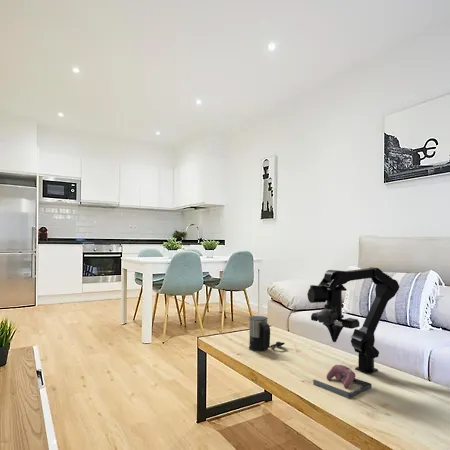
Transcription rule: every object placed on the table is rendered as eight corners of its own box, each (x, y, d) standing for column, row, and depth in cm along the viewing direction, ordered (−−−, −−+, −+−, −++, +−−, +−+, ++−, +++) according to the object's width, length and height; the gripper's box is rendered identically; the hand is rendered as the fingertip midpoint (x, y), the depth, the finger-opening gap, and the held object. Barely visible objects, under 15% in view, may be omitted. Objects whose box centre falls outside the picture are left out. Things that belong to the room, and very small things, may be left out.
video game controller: (353, 391, 123) (359, 371, 125) (345, 387, 122) (351, 368, 123) (332, 381, 132) (338, 363, 134) (324, 378, 130) (330, 359, 132)
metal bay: (335, 375, 134) (335, 371, 134) (371, 388, 122) (371, 383, 123) (313, 384, 125) (313, 380, 125) (350, 398, 114) (350, 393, 114)
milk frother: (244, 348, 168) (244, 317, 169) (266, 342, 179) (266, 313, 179) (266, 355, 158) (266, 322, 158) (288, 348, 168) (288, 317, 169)
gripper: (302, 300, 140) (302, 340, 139) (343, 307, 126) (343, 351, 125) (319, 298, 147) (319, 335, 146) (360, 304, 133) (360, 346, 132)
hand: (334, 341), depth 137 cm, fingers closed
